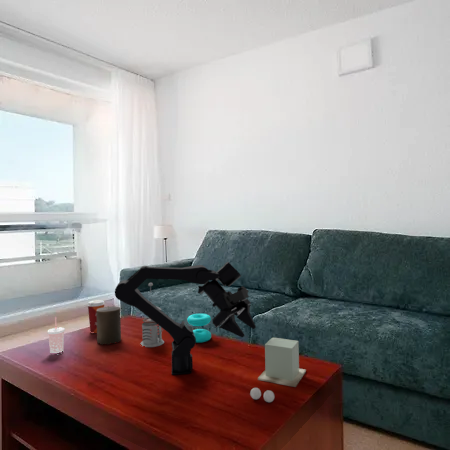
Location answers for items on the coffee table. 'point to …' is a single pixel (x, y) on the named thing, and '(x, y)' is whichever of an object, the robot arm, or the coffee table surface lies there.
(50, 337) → the beverage cup
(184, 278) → the robot arm
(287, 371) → the bulging sage box
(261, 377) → the birch coaster
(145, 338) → the french press
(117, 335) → the pillar candle
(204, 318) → the donuts
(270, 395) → the marble
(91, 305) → the paper cup
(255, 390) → the marble
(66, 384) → the coffee table surface
